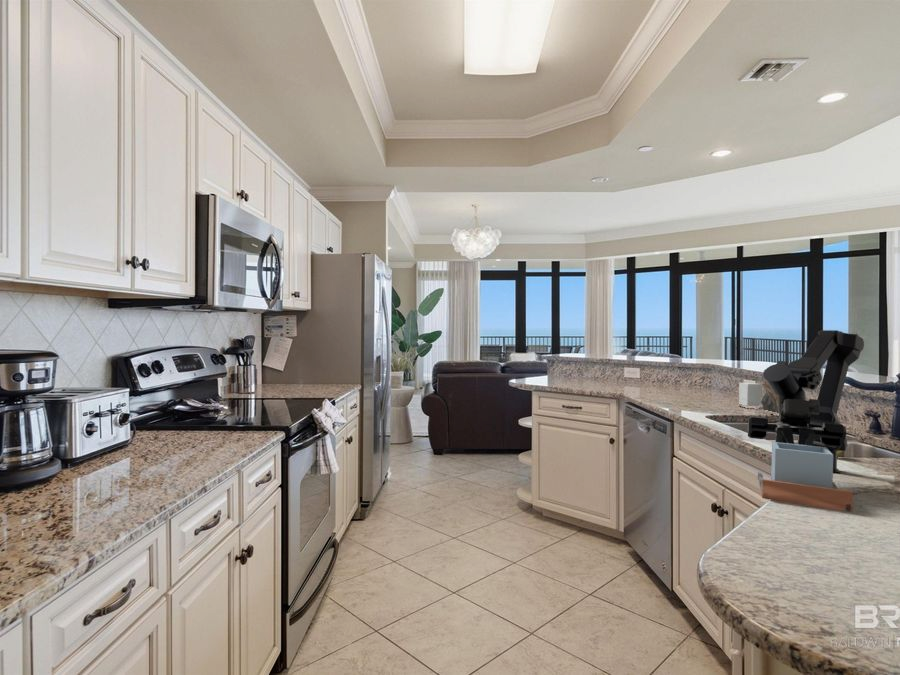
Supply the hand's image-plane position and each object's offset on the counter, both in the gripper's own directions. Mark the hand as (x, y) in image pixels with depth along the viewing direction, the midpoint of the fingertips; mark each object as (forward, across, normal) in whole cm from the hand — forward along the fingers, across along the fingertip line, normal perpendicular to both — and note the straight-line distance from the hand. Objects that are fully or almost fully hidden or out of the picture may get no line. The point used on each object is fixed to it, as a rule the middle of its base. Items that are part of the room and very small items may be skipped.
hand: (796, 461), depth 111 cm
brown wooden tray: (+8, 0, +3) cm, 8 cm away
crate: (+7, 0, +1) cm, 7 cm away
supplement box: (-105, -3, +115) cm, 156 cm away
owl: (-92, +8, +102) cm, 137 cm away
